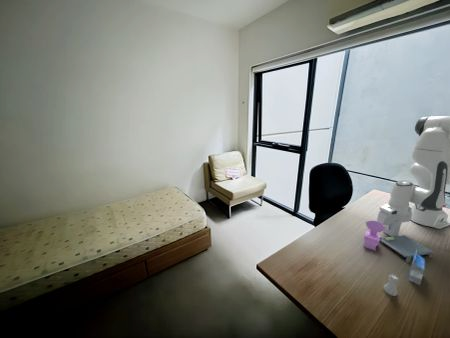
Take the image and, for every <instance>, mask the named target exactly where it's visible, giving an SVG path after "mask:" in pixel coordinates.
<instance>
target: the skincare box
mask: <svg viewBox="0 0 450 338" xmlns="http://www.w3.org/2000/svg"><path fill="white" fill-rule="evenodd" d="M401 222H402V220H395V222H394V224H390V225H389V227H391V228H390V230H387V229H385V230H383V231H382V233H385V234H387V236H388V235H389V237H396V236H399V233H400V231H401V225H402V224H401ZM383 226H384V227H386V226H385V225H383Z"/></svg>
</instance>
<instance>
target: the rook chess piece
mask: <svg viewBox="0 0 450 338" xmlns="http://www.w3.org/2000/svg"><path fill="white" fill-rule="evenodd" d="M398 282H400V279H399V277H398V276H397V275H395V274H392V273H391V274H390V275H388V281H387V283H385V284H384V285H383V291H384V292H385V293H387V295H389V296H393V297H396V296H398V290H397V289H398V288H397V285H398Z"/></svg>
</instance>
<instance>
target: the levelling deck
mask: <svg viewBox="0 0 450 338" xmlns="http://www.w3.org/2000/svg"><path fill="white" fill-rule="evenodd" d="M380 241H381V242H382V243H383V244H385V245H386V246H387V247H389V248H391V249H392V250H393V249H394V250H395V251H397V252H398V253H400V254H401V255H403V256H404V257H406V258H407V256H411V257H414V254H415V252H416V250H417V253H416V254H418V255H425V254H430V255H431V254H433V253H434V251H433V250H431V249H430V248H428V247H426V246H424V245H422V244H421V243H419V242H418V241H415V240H413V239H412V238H410V237H408V236H407V235H405V234H404V235H403V234H402V235H398V236H396V237H392V236H387V237H385V238H381V240H380Z"/></svg>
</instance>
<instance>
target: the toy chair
mask: <svg viewBox="0 0 450 338" xmlns="http://www.w3.org/2000/svg"><path fill="white" fill-rule="evenodd" d="M365 226H366V227H367V229H368V230H369V231H368V230H366V231H365V235H364V238H363V240H364V245H363V247H365V248H366V249H369V250H373V251H375V252H376V251H377V250H376V247H377V246H378V245H379V244H380V242H379V241H380V237H382V236H381V235H380V234H378V233H381V232H382V233H383V230H385V227H384V225H382V224H381V223H380V222H378V221H377V220H368V221H366V222H365Z"/></svg>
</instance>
